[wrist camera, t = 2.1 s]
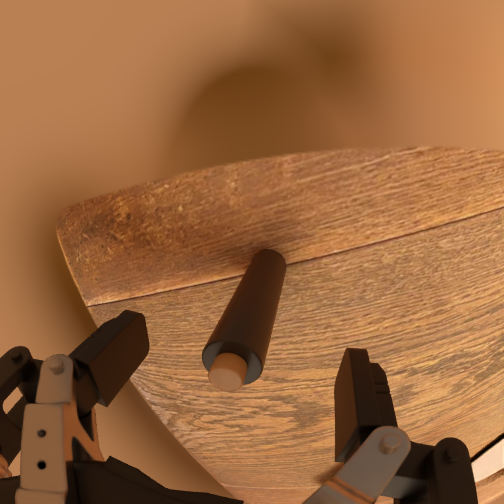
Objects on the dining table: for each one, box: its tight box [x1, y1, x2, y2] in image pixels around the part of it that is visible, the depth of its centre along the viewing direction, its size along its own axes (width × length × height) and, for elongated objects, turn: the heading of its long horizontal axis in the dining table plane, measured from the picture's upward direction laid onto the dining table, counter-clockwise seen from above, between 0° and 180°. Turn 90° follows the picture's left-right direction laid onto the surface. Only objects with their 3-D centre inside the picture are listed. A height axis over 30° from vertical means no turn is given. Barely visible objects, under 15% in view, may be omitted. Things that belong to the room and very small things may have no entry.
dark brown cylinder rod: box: [202, 250, 286, 391], centre depth 13 cm, size 2×2×10 cm
